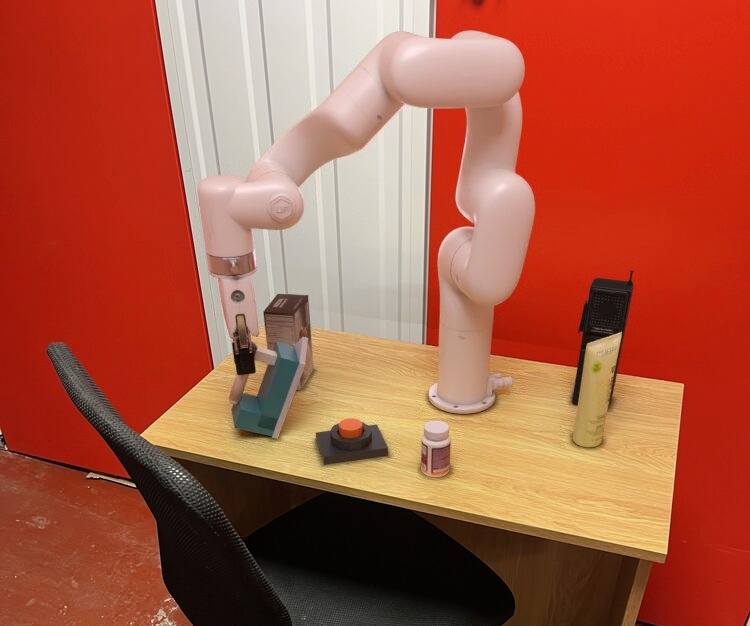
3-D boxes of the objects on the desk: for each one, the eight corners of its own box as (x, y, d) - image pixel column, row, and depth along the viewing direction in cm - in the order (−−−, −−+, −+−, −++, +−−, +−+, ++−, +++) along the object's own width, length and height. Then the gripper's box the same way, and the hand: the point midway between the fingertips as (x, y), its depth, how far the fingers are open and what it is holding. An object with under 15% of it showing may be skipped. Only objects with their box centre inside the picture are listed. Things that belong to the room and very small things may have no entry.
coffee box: (284, 367, 159) (277, 292, 149) (314, 370, 158) (309, 294, 148) (270, 388, 152) (262, 310, 142) (302, 391, 151) (295, 313, 141)
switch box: (376, 432, 138) (376, 415, 136) (387, 456, 132) (387, 438, 130) (316, 440, 136) (314, 423, 134) (324, 465, 130) (323, 447, 128)
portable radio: (565, 404, 145) (585, 273, 130) (571, 389, 150) (591, 262, 135) (608, 411, 143) (633, 279, 128) (613, 396, 147) (637, 267, 132)
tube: (600, 452, 132) (620, 346, 120) (569, 447, 133) (586, 342, 122) (602, 435, 136) (622, 331, 125) (573, 431, 137) (590, 328, 126)
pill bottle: (453, 466, 129) (456, 422, 124) (442, 480, 126) (445, 436, 121) (427, 459, 131) (428, 416, 126) (415, 473, 127) (416, 430, 122)
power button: (359, 425, 134) (359, 416, 133) (364, 437, 131) (364, 428, 130) (337, 428, 133) (336, 419, 132) (341, 440, 130) (341, 431, 129)
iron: (304, 329, 134) (246, 312, 130) (312, 347, 128) (251, 330, 124) (272, 418, 143) (216, 404, 138) (277, 439, 137) (219, 426, 132)
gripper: (262, 277, 115) (273, 388, 126) (250, 242, 128) (261, 345, 139) (211, 282, 113) (227, 393, 124) (204, 247, 126) (219, 350, 137)
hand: (245, 367), depth 131 cm, fingers closed on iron, 3 cm apart
